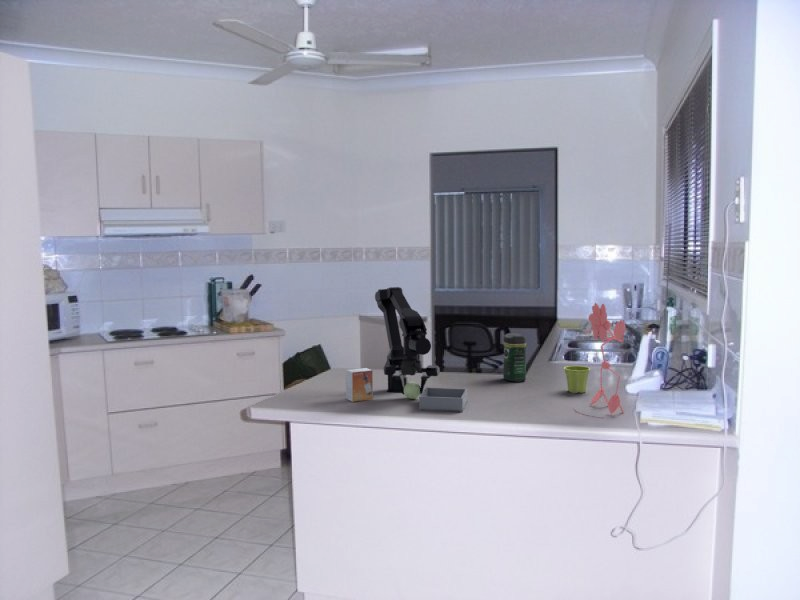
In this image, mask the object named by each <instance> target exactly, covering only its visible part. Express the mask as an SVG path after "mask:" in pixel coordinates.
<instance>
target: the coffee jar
mask: <svg viewBox="0 0 800 600" xmlns="http://www.w3.org/2000/svg"><path fill="white" fill-rule="evenodd" d="M502 344H503V371H502V372H503V374H502V375H503V377H502V378H503V379H504V380H505V381H508V382H515V383H520V382H524V381H526V379H527V376H526V375H527V365H526V363H527V360H526V359H527V358H526V355H527V353H526V352H527V351H526V349H527V337H526V336H524V335H523V334H519V333H517V332H510V333H509V332H508V333H506V334H504V336H503V343H502Z"/></svg>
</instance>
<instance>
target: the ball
mask: <svg viewBox="0 0 800 600" xmlns="http://www.w3.org/2000/svg"><path fill="white" fill-rule="evenodd" d="M420 388H421V385H420V384H419V383H418V382H416V381H409V382H407V384H406V385H405V387H404V394H403V395H405V397H406V398H408V399H410V400H414V399H417V398H419V396H420Z"/></svg>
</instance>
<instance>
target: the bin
mask: <svg viewBox="0 0 800 600" xmlns="http://www.w3.org/2000/svg"><path fill="white" fill-rule="evenodd" d="M418 400H419V401H418V408H419V409H418V411H425V410H429V411H430V412H448V411H452V412H453V413H454V412H456V413H463V412H464V410H465V408H466V406H465V405H467V404H466V403H468V388H453V387H428V386H426V387H425V388H424V390H423V392H422V394H421V395H419V396H418ZM429 411H428V412H429Z"/></svg>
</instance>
